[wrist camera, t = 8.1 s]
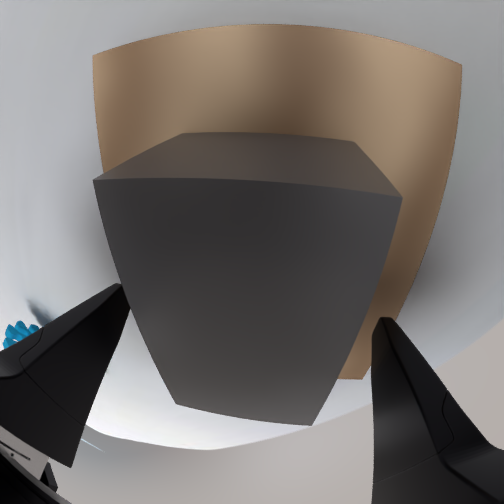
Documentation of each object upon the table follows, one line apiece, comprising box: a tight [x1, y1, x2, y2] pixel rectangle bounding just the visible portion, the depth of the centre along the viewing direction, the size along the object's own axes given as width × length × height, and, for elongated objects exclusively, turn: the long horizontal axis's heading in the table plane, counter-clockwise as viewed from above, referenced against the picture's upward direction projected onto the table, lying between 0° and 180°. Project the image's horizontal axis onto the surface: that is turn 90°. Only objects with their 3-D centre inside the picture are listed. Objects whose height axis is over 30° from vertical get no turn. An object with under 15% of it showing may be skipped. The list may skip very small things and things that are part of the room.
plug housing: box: [93, 132, 403, 426], centre depth 9 cm, size 6×10×5 cm, turn 0°
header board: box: [93, 24, 462, 379], centre depth 11 cm, size 14×18×4 cm
